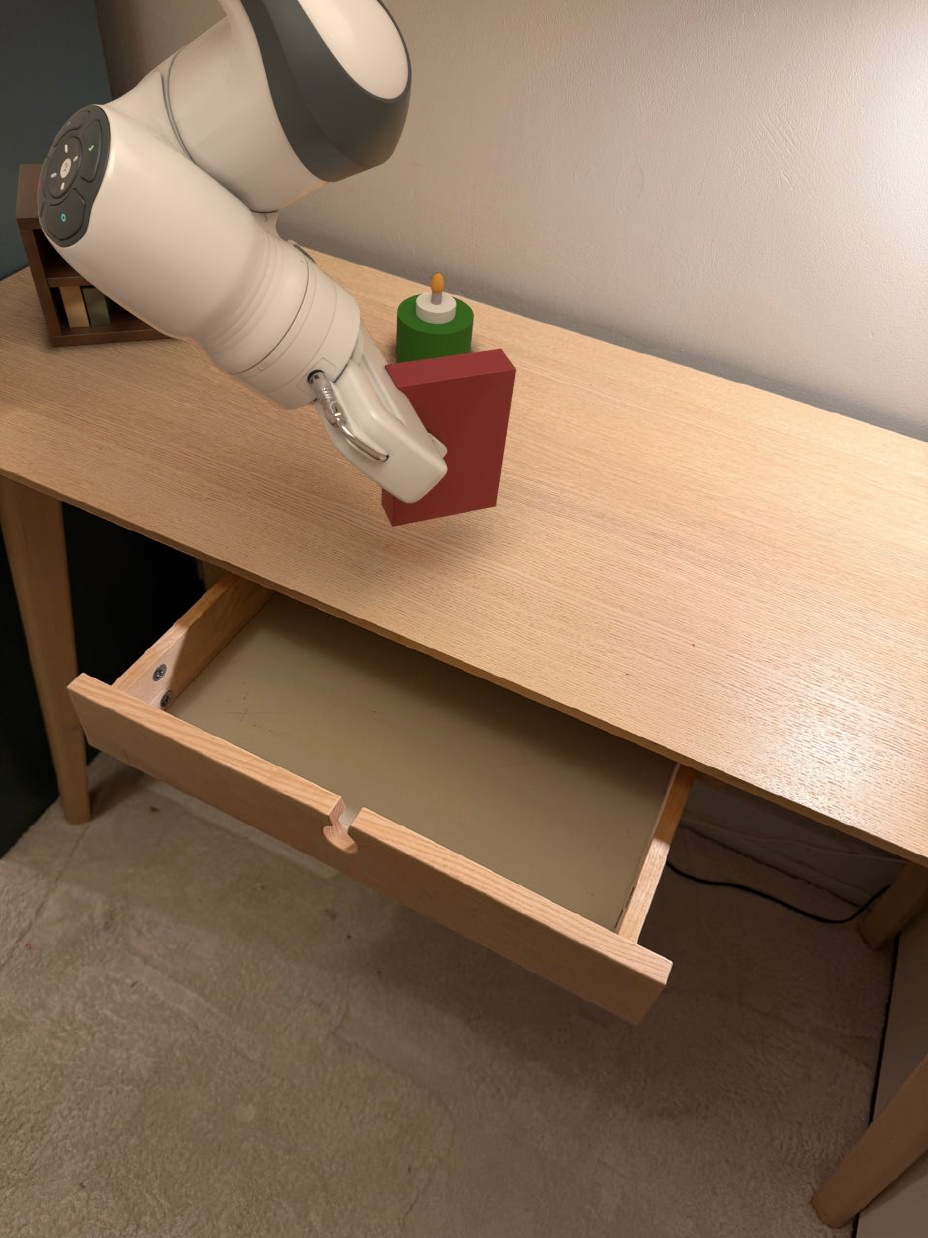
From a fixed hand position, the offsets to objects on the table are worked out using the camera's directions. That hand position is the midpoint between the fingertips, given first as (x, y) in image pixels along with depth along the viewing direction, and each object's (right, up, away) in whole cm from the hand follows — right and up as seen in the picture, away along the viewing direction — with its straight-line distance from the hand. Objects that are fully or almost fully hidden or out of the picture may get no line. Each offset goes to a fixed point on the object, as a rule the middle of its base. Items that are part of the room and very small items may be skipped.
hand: (427, 436), depth 68 cm
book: (+1, -5, +6) cm, 7 cm away
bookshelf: (-35, +21, +35) cm, 54 cm away
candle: (-1, +15, +34) cm, 37 cm away
